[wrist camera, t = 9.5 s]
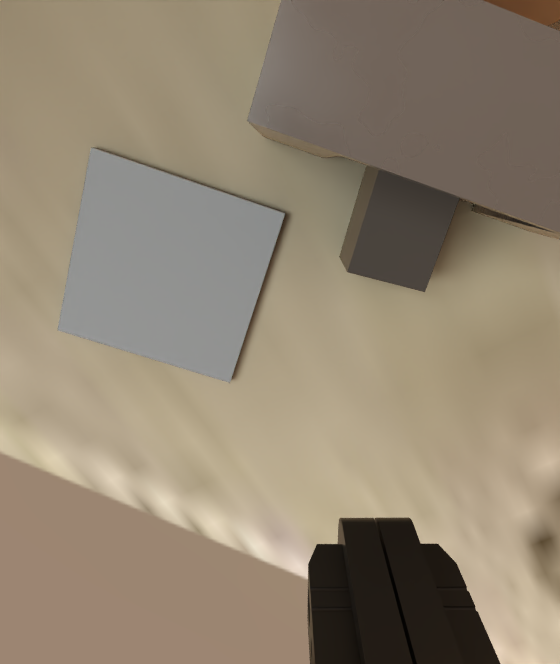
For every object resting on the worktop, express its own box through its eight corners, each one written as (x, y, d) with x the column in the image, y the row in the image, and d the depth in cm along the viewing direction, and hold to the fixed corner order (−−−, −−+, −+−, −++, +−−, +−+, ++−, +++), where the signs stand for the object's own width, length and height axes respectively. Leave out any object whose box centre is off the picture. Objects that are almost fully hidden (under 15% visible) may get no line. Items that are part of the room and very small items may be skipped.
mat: (61, 327, 22) (57, 330, 21) (94, 147, 19) (91, 147, 19) (230, 379, 22) (229, 382, 22) (285, 212, 20) (284, 213, 19)
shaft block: (263, 136, 19) (246, 121, 12) (296, 24, 18) (301, -73, 10) (526, 230, 20) (664, 269, 13) (576, 131, 19) (761, 112, 11)
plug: (322, 252, 20) (335, 287, 15) (439, -159, 16) (524, -339, 10) (422, 278, 21) (473, 322, 15) (566, -118, 16) (718, -270, 10)
